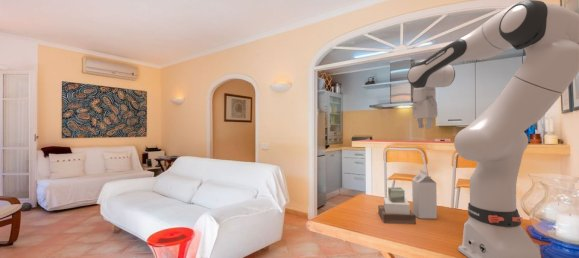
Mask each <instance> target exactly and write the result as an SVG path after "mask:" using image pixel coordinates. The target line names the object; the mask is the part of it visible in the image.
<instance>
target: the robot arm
mask: <svg viewBox="0 0 579 258" xmlns="http://www.w3.org/2000/svg"><path fill="white" fill-rule="evenodd" d="M512 47H513V49H515V50H518V51H519V50H522V49H523V50H524V52H525V58H524V60H523V62H522V63H521V65H520V66H519V67H518V68H517V70H516V71H515V72H514V74H513V75H512V76H511V79H510V80H509V81H508V83H507V84H506V85H505V86H504V88H503V89H502V91H501V92H500V94H499V95H498V96H497V97H496V98H495V100H494V101H493V102H492V103H491V104H490V105H489V106H488V107H487V108H486V109H485V110H484V111H482V113H481V114H479V115H478V116H477V117H476V118H475V119H474V120H472V122H471V123H470V124H469V125H467V126H466V127H464V128H462V129H461V130H459V132H457V134H456V135H455V137H454V141H453V145H454V149H455V151H456V153H457V154H458V156H460V157H461V158H462V159H464V160H467V161H472V162H475V163H476V166H475V169H474V171H473V173H472V174H471V175H470V178H469V202H467V203H468V204H467V205H468V206H467V214H468V219H467V220H466V222H464V224H463V233H462V244H460V245H458V249H457V250H458V252H460V253H462V254H463V255H464V256H465V257H467V258H542V255H541V246H540V245H539V244H538V243H536V242H533V240H532V239H531V238H530V236H529V235H528V233H527V232H526V231H525V229H524V228H523V227H522V222H523V220H522V219H523V218H524V217H521V215H520V212H519V210H518V208H517V183H518V182H517V181H518V176H519V172H520V169H521V163H522V159H523V155H524V152H525V151H526V150H527V148H528V145H529V137H528V135H527V134H526V132H525V131H527V130H528V129H529V128H530V127H531V126H533V125H535V124H536V123H537V122H539V121H540V120H541V119H542V118H544V116H545V115H546V114H547V112H548V111H549V110H550V109H551V108H552V107H553V105H554V104H555V103H556V102H557V101H558V99H559V98H561V96H562V95H563V94H564V92H565V91H566V90H567V89H568V87H570V85H571V84H572V83H573V81H574V80H575V77H577V75H578V74H579V13H578V12H575V11H574V10H570V9H568V8H567V7H564V6H561V5H558V4H554V3H550V2H549V3H548V2H544V1H542V0H521V1H519V2H515V3H513V4H511V5H510V6H508V7H505V8H504V9H502V10H501V11H499V12H498V13H496V14H495V15H493V16H492V17H490V18H489V19H488V20H486V21H485V22H483V23H482V24H481V25H480V26H478V27H476V28H475V29H474V30H471V32H469V33H468V34H466V35H464V36H462V37H460V38H458V39H456V40H454V41H452V42H450V43H449V44H447V45H445V46H444V47H443V48H440V49H439V50H438V51H437V52H435V53H434V54H432V55H431V56H429V57H428V58H426V59H422V60H419V61H417V62H415V63H414V64H413V65H412V66H411V67H410V68H409V69H408V71H407V75H406V76H407V81H408V83H409V84H410V86H411V87H412V88H413V92H412V93H413V95H412V97H411V99H410V101H411V102H410V103H412V107H411V108H412V116H413V119H416V121H417V124H418V129H423V128H424V119H425V121H426V124H425V129H426V130H427V129H432V125H433V124H432V123H433V122H434V121H433V118H437V117H438V104H437V101H436V99H437V98H436V97H437V96H436V88H446V87H449V86H450V85H452V83H454V81H455V78H456V70H455V68H454V67H453V64H456V63H459V62H460V63H461V62H467V61H468V62H469V61H479V60H481V61H482V60H486V59H490V58H493V57H496V56H498V55H499V54H502V53H503V52H505V51H507V50H508V49H510V48H512Z"/></svg>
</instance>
